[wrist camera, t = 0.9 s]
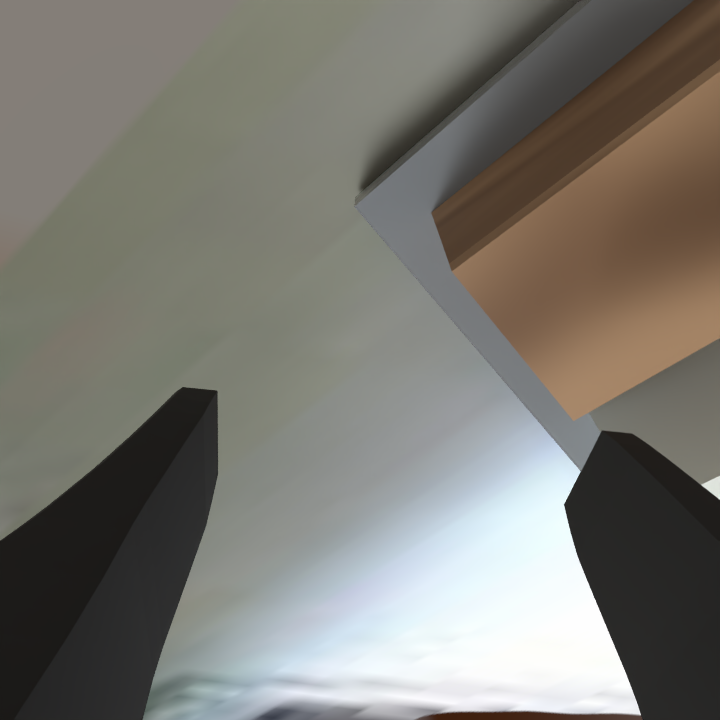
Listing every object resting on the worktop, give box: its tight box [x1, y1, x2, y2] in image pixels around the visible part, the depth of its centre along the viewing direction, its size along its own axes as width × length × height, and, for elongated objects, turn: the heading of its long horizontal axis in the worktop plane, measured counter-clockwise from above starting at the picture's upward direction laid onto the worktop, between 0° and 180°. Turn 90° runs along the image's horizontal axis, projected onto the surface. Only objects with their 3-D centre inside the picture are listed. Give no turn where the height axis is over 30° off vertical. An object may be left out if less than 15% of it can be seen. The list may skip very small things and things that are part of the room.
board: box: [354, 0, 694, 471], centre depth 18 cm, size 18×12×1 cm, turn 41°
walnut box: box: [432, 0, 720, 421], centre depth 14 cm, size 6×9×5 cm, turn 131°
